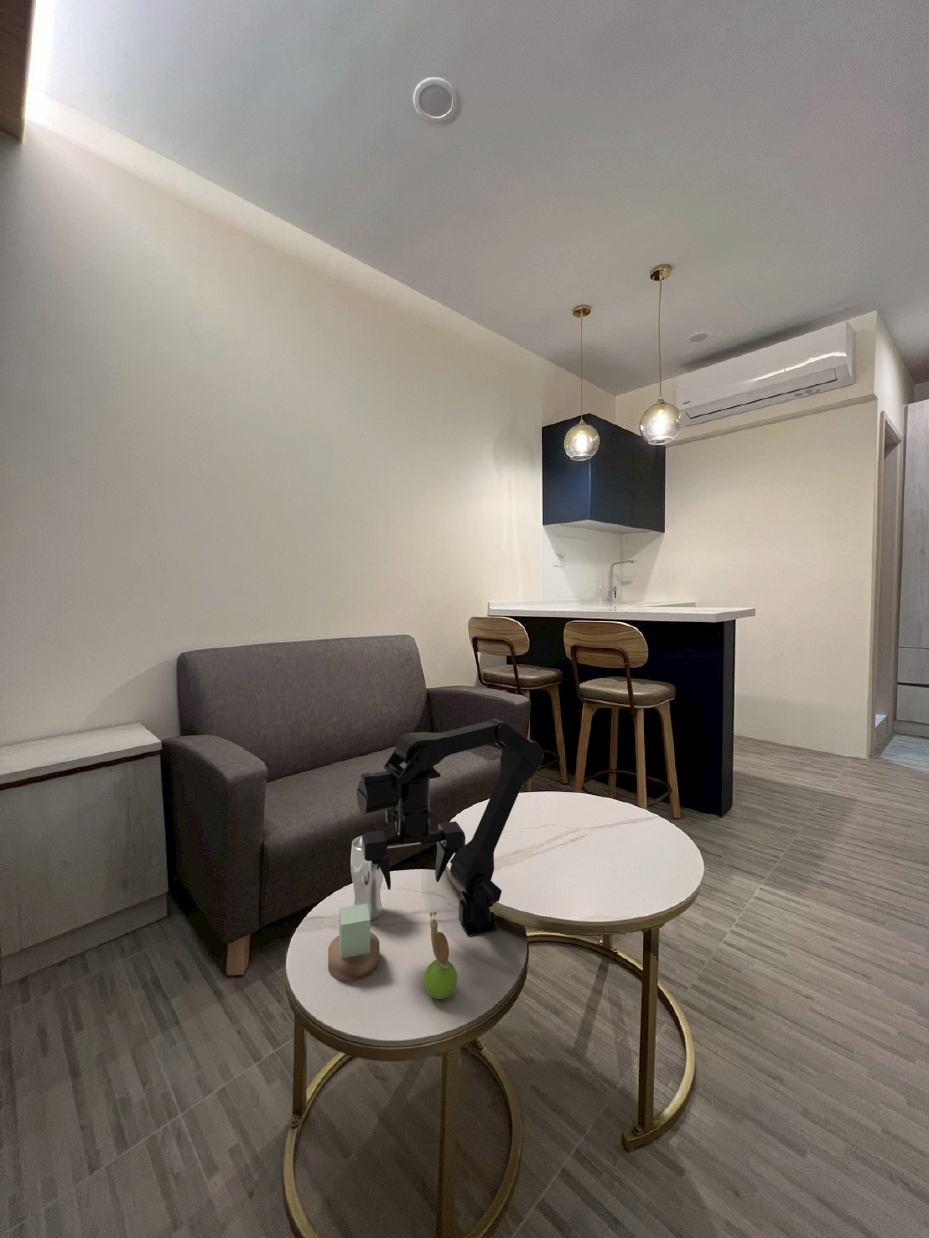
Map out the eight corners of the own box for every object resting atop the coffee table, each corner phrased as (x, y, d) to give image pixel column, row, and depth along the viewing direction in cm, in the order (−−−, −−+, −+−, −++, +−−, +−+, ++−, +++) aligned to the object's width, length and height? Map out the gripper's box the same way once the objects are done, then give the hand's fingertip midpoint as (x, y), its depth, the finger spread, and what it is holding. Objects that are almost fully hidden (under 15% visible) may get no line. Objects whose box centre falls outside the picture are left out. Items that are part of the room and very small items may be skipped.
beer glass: (351, 925, 100) (351, 852, 100) (349, 905, 107) (349, 836, 106) (386, 919, 102) (386, 847, 102) (382, 899, 109) (382, 832, 108)
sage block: (366, 934, 93) (367, 903, 93) (370, 952, 88) (370, 919, 88) (339, 939, 92) (339, 907, 91) (341, 958, 87) (341, 924, 87)
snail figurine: (445, 974, 88) (446, 907, 87) (462, 1000, 82) (463, 928, 81) (417, 984, 85) (417, 915, 85) (432, 1012, 79) (432, 938, 79)
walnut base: (375, 941, 96) (376, 926, 96) (382, 975, 87) (382, 958, 87) (327, 950, 93) (327, 934, 93) (329, 986, 84) (329, 969, 84)
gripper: (450, 782, 104) (449, 856, 104) (359, 791, 98) (358, 869, 99) (466, 803, 93) (465, 885, 94) (365, 815, 87) (364, 902, 88)
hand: (413, 884), depth 94 cm, fingers open, 9 cm apart
